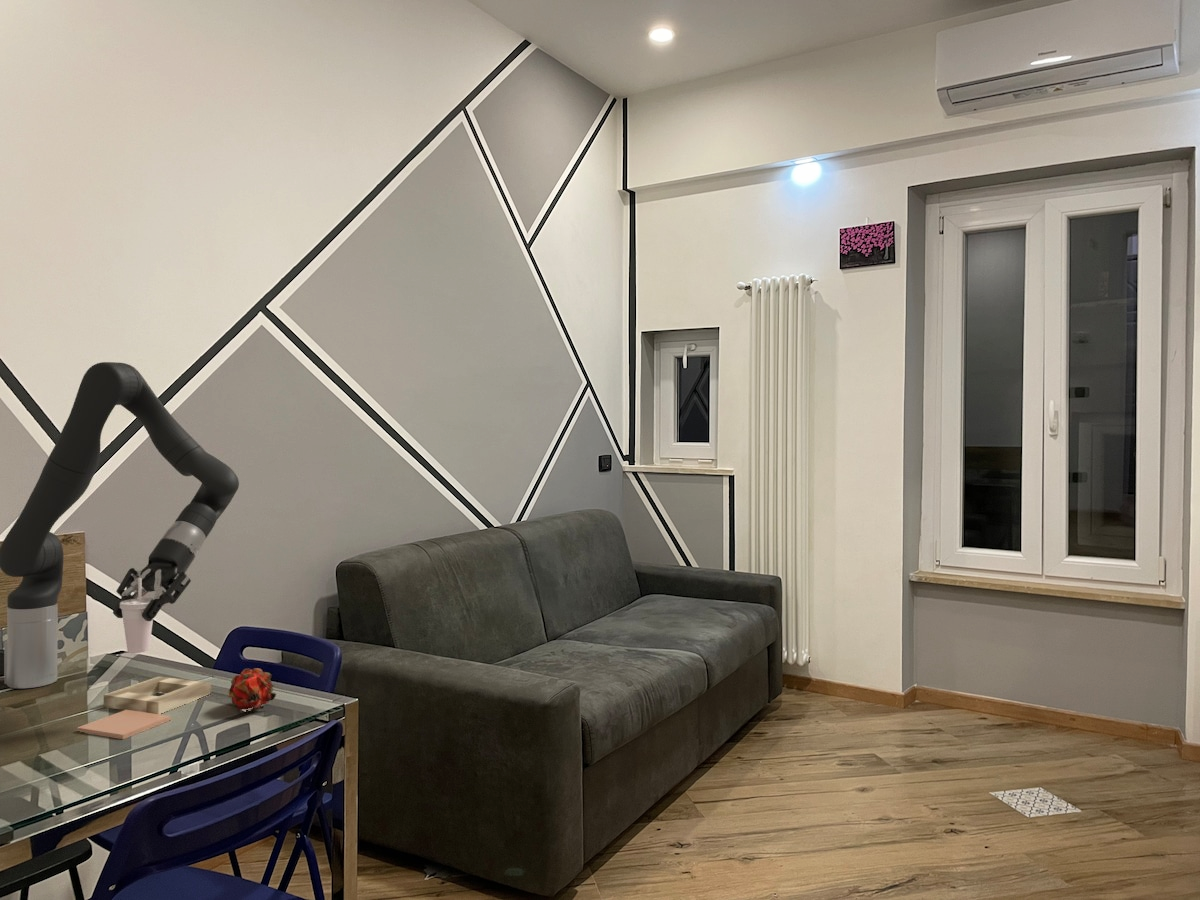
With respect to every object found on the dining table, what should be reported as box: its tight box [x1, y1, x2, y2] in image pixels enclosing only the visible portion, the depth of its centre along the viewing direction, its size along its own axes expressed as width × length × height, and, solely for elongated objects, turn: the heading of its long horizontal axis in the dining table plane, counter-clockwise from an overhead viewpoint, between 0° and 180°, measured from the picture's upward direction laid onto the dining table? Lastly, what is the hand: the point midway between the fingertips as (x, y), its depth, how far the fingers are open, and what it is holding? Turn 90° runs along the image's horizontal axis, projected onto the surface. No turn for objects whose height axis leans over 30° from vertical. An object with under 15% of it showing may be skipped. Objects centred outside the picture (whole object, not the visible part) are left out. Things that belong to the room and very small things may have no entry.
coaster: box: [76, 710, 172, 740], centre depth 163 cm, size 11×11×1 cm
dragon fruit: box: [228, 667, 277, 712], centre depth 174 cm, size 8×8×12 cm
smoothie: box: [120, 578, 155, 654], centre depth 167 cm, size 6×6×14 cm
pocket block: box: [103, 675, 212, 715], centre depth 178 cm, size 14×14×2 cm
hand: (131, 617), depth 165 cm, fingers closed on smoothie, 6 cm apart
